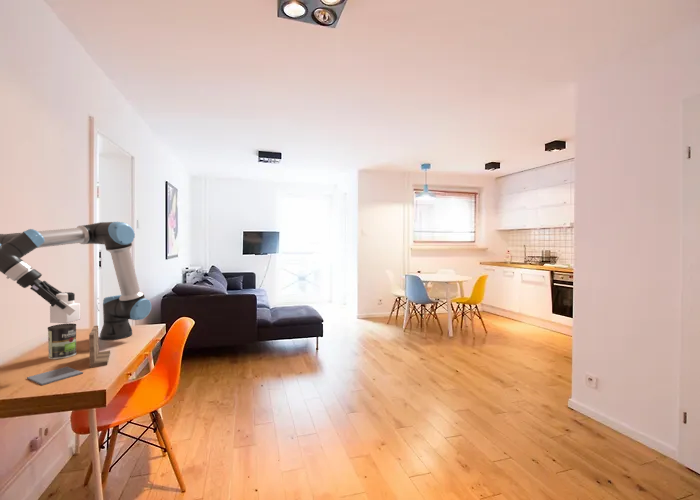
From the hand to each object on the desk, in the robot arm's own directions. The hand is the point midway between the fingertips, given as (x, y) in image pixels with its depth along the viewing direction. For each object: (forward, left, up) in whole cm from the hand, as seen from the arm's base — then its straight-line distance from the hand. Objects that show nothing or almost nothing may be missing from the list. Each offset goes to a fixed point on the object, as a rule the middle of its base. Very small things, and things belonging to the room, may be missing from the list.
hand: (74, 310), depth 146 cm
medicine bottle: (+3, -2, -4) cm, 5 cm away
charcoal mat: (+9, +4, -24) cm, 26 cm away
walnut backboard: (-10, -1, -24) cm, 26 cm away
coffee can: (-4, -23, -24) cm, 34 cm away
